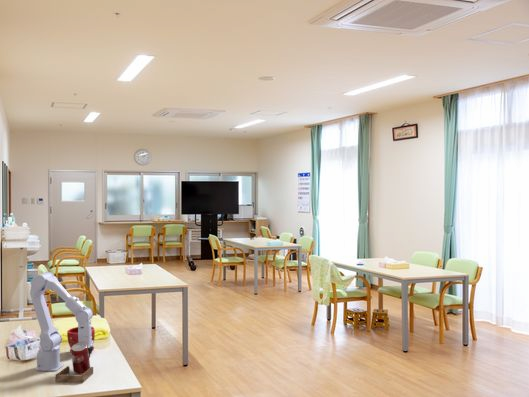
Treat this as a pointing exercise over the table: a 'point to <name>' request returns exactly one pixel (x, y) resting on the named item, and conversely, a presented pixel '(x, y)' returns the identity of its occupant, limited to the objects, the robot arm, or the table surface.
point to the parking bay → (73, 376)
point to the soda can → (80, 358)
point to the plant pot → (73, 336)
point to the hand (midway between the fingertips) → (85, 364)
